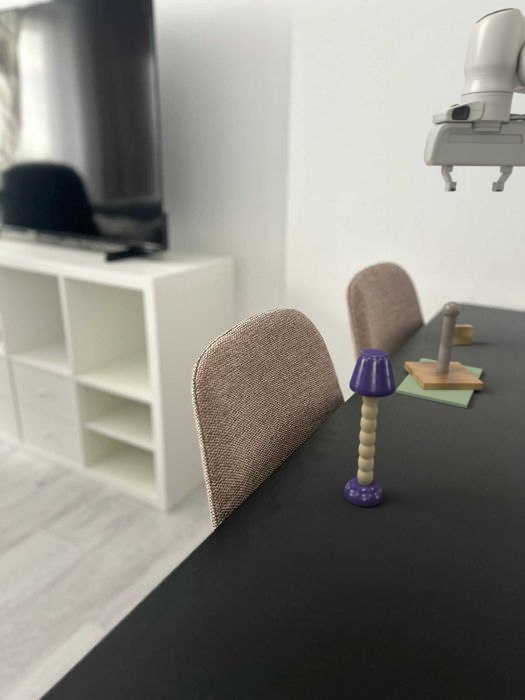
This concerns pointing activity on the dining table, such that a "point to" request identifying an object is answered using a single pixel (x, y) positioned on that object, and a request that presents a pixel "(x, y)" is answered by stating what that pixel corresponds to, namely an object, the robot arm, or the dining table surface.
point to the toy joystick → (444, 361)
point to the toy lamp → (369, 421)
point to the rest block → (463, 334)
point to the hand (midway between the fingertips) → (473, 191)
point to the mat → (442, 396)
